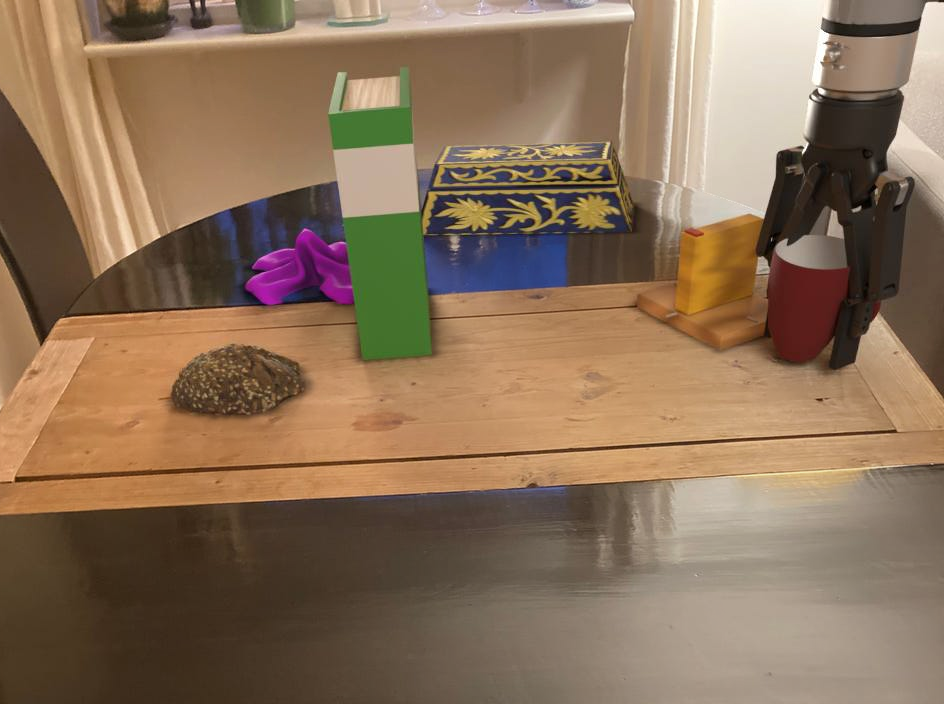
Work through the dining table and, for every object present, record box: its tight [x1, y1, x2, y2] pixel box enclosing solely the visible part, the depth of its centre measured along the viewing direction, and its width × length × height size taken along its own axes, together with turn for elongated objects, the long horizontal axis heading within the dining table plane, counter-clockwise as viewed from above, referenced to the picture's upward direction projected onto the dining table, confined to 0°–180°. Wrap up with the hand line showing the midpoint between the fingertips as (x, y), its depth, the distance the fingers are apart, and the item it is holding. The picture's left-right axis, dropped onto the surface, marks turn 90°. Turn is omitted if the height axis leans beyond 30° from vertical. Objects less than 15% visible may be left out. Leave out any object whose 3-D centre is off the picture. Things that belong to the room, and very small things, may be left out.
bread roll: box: [170, 342, 306, 416], centre depth 97 cm, size 13×12×5 cm
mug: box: [768, 234, 882, 363], centre depth 91 cm, size 11×8×10 cm
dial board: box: [636, 281, 768, 351], centre depth 104 cm, size 14×13×2 cm
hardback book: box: [327, 66, 433, 361], centre depth 100 cm, size 18×7×24 cm, turn 3°
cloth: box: [244, 228, 355, 306], centre depth 120 cm, size 22×19×6 cm
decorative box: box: [421, 141, 635, 236], centre depth 129 cm, size 11×30×9 cm, turn 82°
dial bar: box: [675, 213, 764, 315], centre depth 101 cm, size 9×2×8 cm, turn 119°
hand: (807, 348), depth 94 cm, fingers closed on mug, 8 cm apart
